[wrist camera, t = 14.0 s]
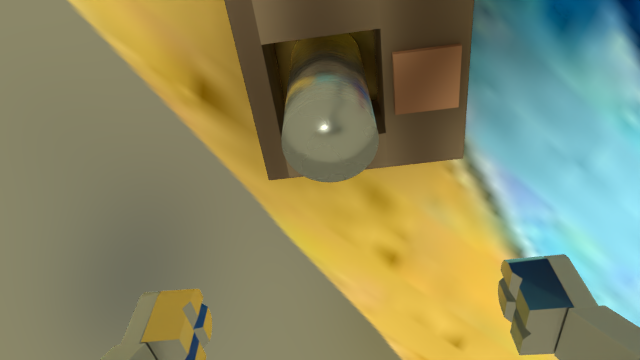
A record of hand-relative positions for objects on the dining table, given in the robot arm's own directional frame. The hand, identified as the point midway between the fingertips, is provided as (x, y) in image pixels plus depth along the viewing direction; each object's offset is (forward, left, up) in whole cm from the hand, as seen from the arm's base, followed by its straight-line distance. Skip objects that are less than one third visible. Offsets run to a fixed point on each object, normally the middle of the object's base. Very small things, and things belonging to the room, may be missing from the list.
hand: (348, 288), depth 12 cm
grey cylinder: (0, 0, -17) cm, 17 cm away
